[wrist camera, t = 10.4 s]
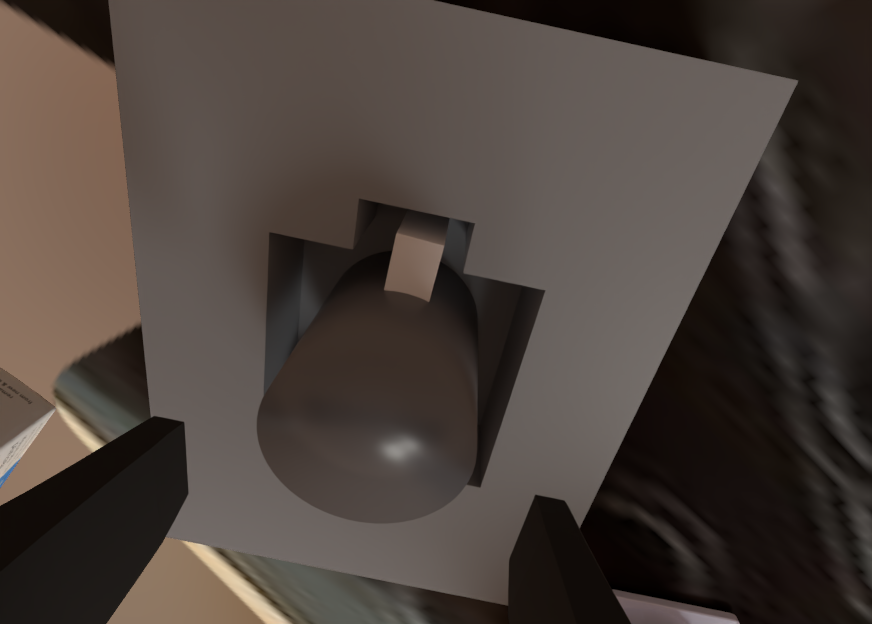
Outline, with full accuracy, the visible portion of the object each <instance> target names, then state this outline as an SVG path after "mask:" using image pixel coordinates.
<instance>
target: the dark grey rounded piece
mask: <svg viewBox="0 0 872 624" xmlns="http://www.w3.org/2000/svg"><path fill="white" fill-rule="evenodd" d="M449 220H450V218H448V217H443V216H439V215H434V214H429V213H425V212H420V211H415V210H410V209H408V211H407V213H406V215H405V217H404V219H403V221H402V223H401V225H400V227H399V229H398V231H397V233H396V237H395V242H394V246H393V251H386V252H380V253H377V254H374V255H370V256H368V257H366V258H364V259H362V260H360V261H358V262H357V263H355V264H354V265H352V266H351V267H350V268H349V269H348V270H347V271H346V272H345V273H344V274H343V275H342V277H341V278H340V279H339V281H338V282H337V284H336V285H335V287H334V288H333V290H332V292H331V293H330V295H329V296H328V298H327V299H326V301H325V302H324V304H323V305H322V307H321V308H320V310H319V311H318V313H317V315H316V316H315V318H314V319H313V321H312V322H311V324H310V325H309V327H308V328H307V330H306V331H305V333H304V334H303V336H302V338H301V339H300V341H299V342H298V344H297V345H296V347H295V348H294V350H293V351H292V353H291V354H290V356H289V357H288V359H287V361H286V362H285V364H284V365H283V367H282V368H281V370H280V371H279V373H278V374H277V376H276V377H275V379H274V380H273V382H272V384H271V385H270V387H269V388H268V390H267V392H266V393H265V395H264V397H263V398H262V401H261V404H260V406H259V410H258V415H257V437H258V442H259V446H260V449H261V452H262V454H263V456H264V458H265V460H266V462H267V464H268V466H269V467H270V469H271V470H272V472H273V473H274V474H275V476H276V477H277V478H278V479H279V480H280V482H281V483H282V484H283V485H285V486H286V487H287V488H288V489H289V490H290V491H291V492H292V493H294V494H295V495H296V496H298V497H299V498H300V499H302V500H303V501H305V502H307V503H308V504H310V505H311V506H313V507H315V508H317V509H319V510H321V511H324V512H326V513H329V514H331V515H334V516H337V517H340V518H344V519H347V520H352V521H357V522H364V523H374V524H389V523H400V522H405V521H411V520H415V519H418V518H421V517H424V516H427V515H429V514H431V513H434V512H436V511H437V510H439V509H441V508H443V507H444V506H446V505H447V504H448V503H450V502H451V501H452V500H454V499H455V498H456V497H457V496H458V495H459V494H460V493H461V491H462V490H463V489H464V487H465V486H466V485H467V483H468V481H469V479H470V477H471V475H472V473H473V470H474V467H475V463H476V457H477V399H478V314H477V309H476V304H475V302H474V299H473V296H472V294H471V292H470V290H469V289H468V287H467V286H466V284H465V283H464V281H463V280H462V279H461V278H460V277H459V276H458V275H457V274H456V273H455V272H454V271H453V270H452V269H450V268H449V267H448V266H446V265H445V264H443V263H442V262H440V260H441V256H442V253H443V249H444V245H445V240H446V235H447V230H448V225H449Z"/></svg>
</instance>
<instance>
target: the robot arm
mask: <svg viewBox="0 0 872 624" xmlns="http://www.w3.org/2000/svg"><path fill="white" fill-rule="evenodd" d="M188 494H189V491H188V474H187V457H186V440H185V423H184V422H183V421H178V420H173V419H168V418H163V417H158V416H153V417H152V418H150V419H148V420H146V421H145V422H143V423H141V424H140V425H138V426H136V427H135V428H133V429H131V430H130V431H128V432H126V433H125V434H123V435H121V436H120V437H118V438H116V439H115V440H113V441H111V442H110V443H108V444H106V445H105V446H103V447H101V448H100V449H98V450H96V451H95V452H93V453H91V454H90V455H88V456H86V457H85V458H83V459H82V460H80V461H78V462H77V463H75V464H73V465H71V466H70V467H68V468H66V469H65V470H63V471H61V472H60V473H58V474H56V475H54V476H53V477H51V478H49V479H47V480H46V481H44V482H43V483H41V484H39V485H37V486H35V487H34V488H32V489H30V490H29V491H27V492H25V493H23V494H21V495H19V496H18V497H16V498H14V499H12V500H10V501H8V502H7V503H5V504H3V505H1V506H0V624H106V623H107V622H108V621H109V619H110V618H111V616H112V615H113V613H114V612H115V611H116V609H117V608H118V606H119V605H120V603H121V602H122V600H123V599H124V598H125V596H126V595H127V593H128V592H129V591H130V589H131V588H132V586H133V585H134V583H135V582H136V580H137V579H138V577H139V576H140V575H141V573H142V572H143V570H144V569H145V567H146V566H147V564H148V563H149V562H150V560H151V559H152V557H153V556H154V554H155V553H156V551H157V550H158V548H159V546H160V545H161V544H162V542H163V540H164V539H165V537H166V535H167V533H168V532H169V530H170V528H171V526H172V524H173V523H174V521H175V519H176V517H177V515H178V513H179V511H180V509H181V507H182V506H183V504H184V502H185V500H186V498H187V496H188ZM508 619H509V624H739V621H738V619H737V617H736V616H735V615H734V614H732V613H729V612H724V611H719V610H714V609H709V608H704V607H699V606H694V605H689V604H684V603H679V602H674V601H669V600H664V599H659V598H654V597H649V596H644V595H640V594H635V593H630V592H625V591H620V590H615V589H611V587H610V585H609V583H608V581H607V580H606V578H605V576H604V574H603V572H602V570H601V569H600V567H599V565H598V563H597V561H596V559H595V557H594V555H593V553H592V551H591V550H590V548H589V546H588V544H587V542H586V540H585V538H584V536H583V534H582V532H581V530H580V528H579V526H578V524H577V522H576V520H575V518H574V516H573V514H572V512H571V510H570V508H569V507H568V505H567V503H566V502H565V500H560V499H555V498H550V497H545V496H540V495H536V494H535V496H534V499H533V501H532V504H531V506H530V509H529V511H528V514H527V516H526V519H525V521H524V524H523V526H522V529H521V531H520V533H519V536H518V538H517V541H516V543H515V546H514V548H513V551H512V553H511V556H510V558H509V579H508Z"/></svg>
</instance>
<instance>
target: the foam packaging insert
mask: <svg viewBox="0 0 872 624" xmlns="http://www.w3.org/2000/svg"><path fill="white" fill-rule="evenodd" d="M108 1H109V11H110V21H111V30H112V40H113V50H114V60H115V70H116V79H117V89H118V99H119V109H120V118H121V128H122V138H123V148H124V157H125V168H126V177H127V186H128V196H129V207H130V216H131V226H132V235H133V246H134V255H135V266H136V275H137V285H138V295H139V305H140V315H141V324H142V334H143V344H144V354H145V363H146V373H147V383H148V393H149V403H150V412H151V418H152V417H153V416H158V417H163V418H168V419H173V420H178V421H183V422H184V423H185V440H186V457H187V474H188V491H189V494H188V496H187V498H186V500H185V502H184V504H183V506H182V507H181V509H180V511H179V513H178V515H177V517H176V519H175V521H174V523H173V524H172V526H171V528H170V530H169V532H168V533H167V535H166V537H168V538H173V539H178V540H183V541H188V542H193V543H198V544H203V545H208V546H213V547H218V548H223V549H228V550H233V551H238V552H243V553H248V554H253V555H258V556H263V557H268V558H273V559H278V560H283V561H288V562H293V563H298V564H303V565H308V566H313V567H318V568H323V569H328V570H333V571H338V572H343V573H348V574H353V575H358V576H363V577H368V578H373V579H378V580H383V581H388V582H393V583H398V584H403V585H408V586H413V587H418V588H423V589H428V590H433V591H438V592H443V593H448V594H453V595H458V596H463V597H468V598H473V599H478V600H483V601H488V602H493V603H498V604H503V605H508V579H509V558H510V556H511V553H512V551H513V548H514V546H515V543H516V541H517V538H518V536H519V533H520V531H521V529H522V526H523V524H524V521H525V519H526V516H527V514H528V511H529V509H530V506H531V504H532V501H533V499H534V496H535V494H536V495H540V496H545V497H550V498H555V499H560V500H565V502H566V503H567V505H568V507H569V508H570V510H571V512H572V514H573V516H574V518H575V520H576V522H577V524H578V526H579V528H580V526H581V524H582V522H583V520H584V518H585V516H586V514H587V512H588V510H589V508H590V506H591V504H592V502H593V500H594V498H595V496H596V494H597V492H598V490H599V487H600V485H601V483H602V481H603V479H604V477H605V475H606V473H607V471H608V469H609V467H610V465H611V463H612V461H613V459H614V457H615V455H616V453H617V451H618V449H619V447H620V445H621V443H622V440H623V438H624V436H625V434H626V432H627V430H628V428H629V426H630V424H631V422H632V420H633V418H634V416H635V414H636V412H637V410H638V408H639V406H640V404H641V402H642V400H643V398H644V395H645V393H646V391H647V389H648V387H649V385H650V383H651V381H652V379H653V377H654V375H655V373H656V371H657V369H658V367H659V365H660V363H661V361H662V359H663V357H664V355H665V353H666V350H667V348H668V346H669V344H670V342H671V340H672V338H673V336H674V334H675V332H676V330H677V328H678V326H679V324H680V322H681V320H682V318H683V316H684V314H685V312H686V310H687V308H688V305H689V303H690V301H691V299H692V297H693V295H694V293H695V291H696V289H697V287H698V285H699V283H700V281H701V279H702V277H703V275H704V273H705V271H706V269H707V267H708V265H709V263H710V260H711V258H712V256H713V254H714V252H715V250H716V248H717V246H718V244H719V242H720V240H721V238H722V236H723V234H724V232H725V230H726V228H727V226H728V224H729V222H730V220H731V218H732V216H733V213H734V211H735V209H736V207H737V205H738V203H739V201H740V199H741V197H742V195H743V193H744V191H745V189H746V187H747V185H748V183H749V181H750V179H751V177H752V175H753V173H754V171H755V168H756V166H757V164H758V162H759V160H760V158H761V156H762V154H763V152H764V150H765V148H766V146H767V144H768V142H769V140H770V138H771V136H772V134H773V132H774V130H775V128H776V126H777V123H778V121H779V119H780V117H781V115H782V113H783V111H784V109H785V107H786V105H787V103H788V101H789V99H790V97H791V95H792V93H793V91H794V89H795V87H796V85H797V83H798V81H797V80H792V79H788V78H783V77H779V76H774V75H770V74H765V73H761V72H756V71H752V70H747V69H742V68H738V67H733V66H729V65H724V64H720V63H715V62H711V61H706V60H702V59H697V58H693V57H688V56H683V55H679V54H674V53H670V52H665V51H661V50H656V49H652V48H647V47H643V46H638V45H634V44H629V43H625V42H620V41H615V40H611V39H606V38H602V37H597V36H593V35H588V34H584V33H579V32H575V31H570V30H566V29H561V28H557V27H552V26H547V25H543V24H538V23H534V22H529V21H525V20H520V19H516V18H511V17H507V16H502V15H498V14H493V13H488V12H484V11H479V10H475V9H470V8H466V7H461V6H457V5H452V4H448V3H443V2H439V1H434V0H108ZM408 209H410V210H415V211H420V212H425V213H429V214H434V215H439V216H443V217H448V218H450V220H449V225H448V230H447V235H446V240H445V245H444V249H443V253H442V256H441V260H440V262H442V263H443V264H445V265H446V266H448V267H449V268H450V269H452V270H453V271H454V272H455V273H456V274H457V275H458V276H459V277H460V278H461V279H462V280H463V281H464V283H465V284H466V286H467V287H468V289H469V290H470V292H471V294H472V296H473V299H474V302H475V304H476V309H477V314H478V399H477V457H476V463H475V467H474V470H473V473H472V475H471V477H470V479H469V481H468V483H467V485H466V486H465V487H464V489H463V490H462V491H461V493H460V494H459V495H458V496H457V497H456V498H455V499H454V500H452V501H451V502H450V503H448V504H447V505H446V506H444V507H443V508H441V509H439V510H437V511H436V512H434V513H431V514H429V515H427V516H424V517H421V518H418V519H415V520H411V521H405V522H400V523H389V524H374V523H364V522H357V521H352V520H347V519H344V518H340V517H337V516H334V515H331V514H329V513H326V512H324V511H321V510H319V509H317V508H315V507H313V506H311V505H310V504H308V503H307V502H305V501H303V500H302V499H300V498H299V497H298V496H296V495H295V494H294V493H292V492H291V491H290V490H289V489H288V488H287V487H286V486H285V485H283V484H282V483H281V482H280V480H279V479H278V478H277V477H276V476H275V474H274V473H273V472H272V470H271V469H270V467H269V466H268V464H267V462H266V460H265V458H264V456H263V454H262V452H261V449H260V446H259V442H258V437H257V415H258V410H259V406H260V404H261V401H262V398H263V397H264V395H265V393H266V392H267V390H268V388H269V387H270V385H271V384H272V382H273V380H274V379H275V377H276V376H277V374H278V373H279V371H280V370H281V368H282V367H283V365H284V364H285V362H286V361H287V359H288V357H289V356H290V354H291V353H292V351H293V350H294V348H295V347H296V345H297V344H298V342H299V341H300V339H301V338H302V336H303V334H304V333H305V331H306V330H307V328H308V327H309V325H310V324H311V322H312V321H313V319H314V318H315V316H316V315H317V313H318V311H319V310H320V308H321V307H322V305H323V304H324V302H325V301H326V299H327V298H328V296H329V295H330V293H331V292H332V290H333V288H334V287H335V285H336V284H337V282H338V281H339V279H340V278H341V277H342V275H343V274H344V273H345V272H346V271H347V270H348V269H349V268H350V267H351V266H352V265H354V264H355V263H357V262H358V261H360V260H362V259H364V258H366V257H368V256H370V255H374V254H377V253H380V252H386V251H393V246H394V242H395V237H396V233H397V231H398V229H399V227H400V225H401V223H402V221H403V219H404V217H405V215H406V213H407V211H408Z"/></svg>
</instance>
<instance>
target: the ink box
mask: <svg viewBox="0 0 872 624" xmlns="http://www.w3.org/2000/svg"><path fill="white" fill-rule="evenodd" d="M55 410H56V408H55V406H53V405H52V404H51V403H49V402H48V401H47V400H45V399H44V398H43V397H42V396H40V395H39V394H38V393H36V392H34V391H33V390H32V389H30V388H29V387H28V386H26V385H25V384H24V383H22V382H21V381H20V380H18V379H17V378H15V377H14V376H12V375H11V374H9V373H8V372H6V371H5V370H3V369H2V368H0V487H1V486H2V484H3V483H4V482H5V480H6V479H7V478H8V476H9V475H10V473H11V472H12V470H13V469H14V467H15V466H16V464H17V463H18V462H19V460H20V458H21V457H22V456H23V454H24V453H25V451H26V450H27V449H28V447H29V446H30V444H31V443H32V442H33V440H34V439H35V438H36V436H37V435H38V434H39V432H40V431H41V429H42V428H43V426H44V425H45V424H46V422H47V421H48V419H49V418H50V417H51V415H52V414H53V413H54V411H55Z"/></svg>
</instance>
